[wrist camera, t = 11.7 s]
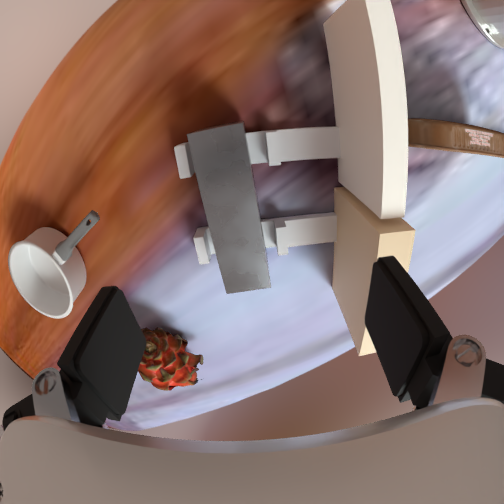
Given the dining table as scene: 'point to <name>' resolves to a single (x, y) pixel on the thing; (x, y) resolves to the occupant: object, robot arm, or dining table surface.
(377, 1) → the white rack
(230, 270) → the grey metal block
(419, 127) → the tin
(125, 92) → the dining table surface
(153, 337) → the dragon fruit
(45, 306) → the saucepan
